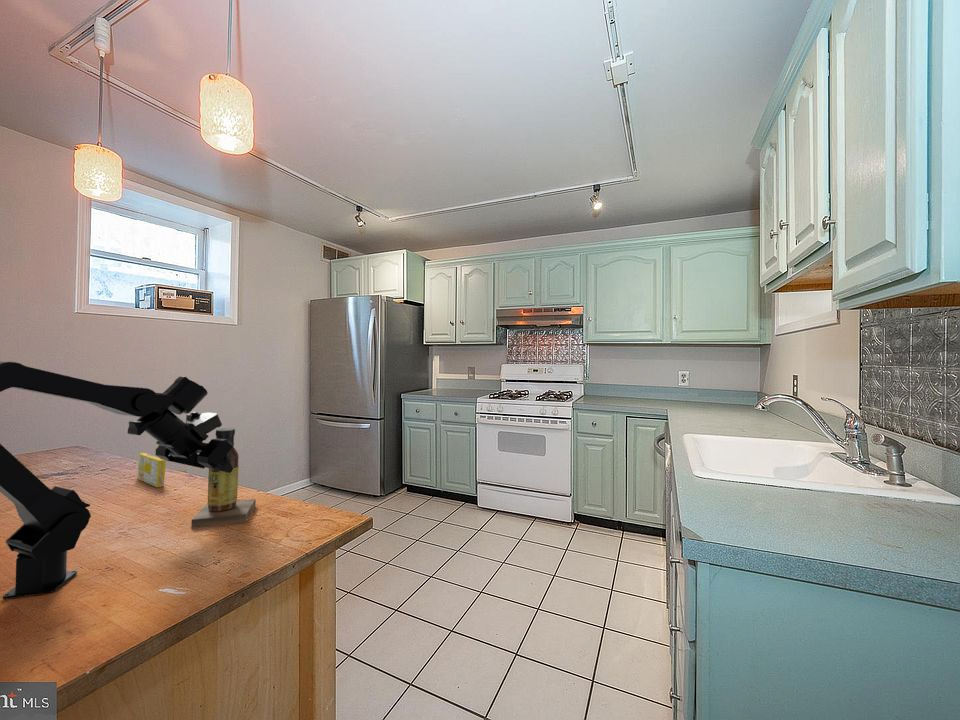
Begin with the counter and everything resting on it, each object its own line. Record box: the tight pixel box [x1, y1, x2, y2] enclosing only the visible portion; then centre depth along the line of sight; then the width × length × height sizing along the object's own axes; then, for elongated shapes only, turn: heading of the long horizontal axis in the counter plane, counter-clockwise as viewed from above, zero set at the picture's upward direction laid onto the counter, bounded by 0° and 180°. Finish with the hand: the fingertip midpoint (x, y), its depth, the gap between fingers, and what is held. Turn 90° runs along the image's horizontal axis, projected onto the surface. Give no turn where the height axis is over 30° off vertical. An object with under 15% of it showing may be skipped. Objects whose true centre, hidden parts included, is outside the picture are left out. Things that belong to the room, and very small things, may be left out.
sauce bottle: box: [207, 427, 239, 512], centre depth 97 cm, size 7×6×20 cm
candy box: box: [136, 452, 167, 488], centre depth 122 cm, size 16×2×8 cm, turn 58°
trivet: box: [191, 498, 257, 529], centre depth 97 cm, size 11×11×2 cm
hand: (218, 468), depth 95 cm, fingers open, 9 cm apart
